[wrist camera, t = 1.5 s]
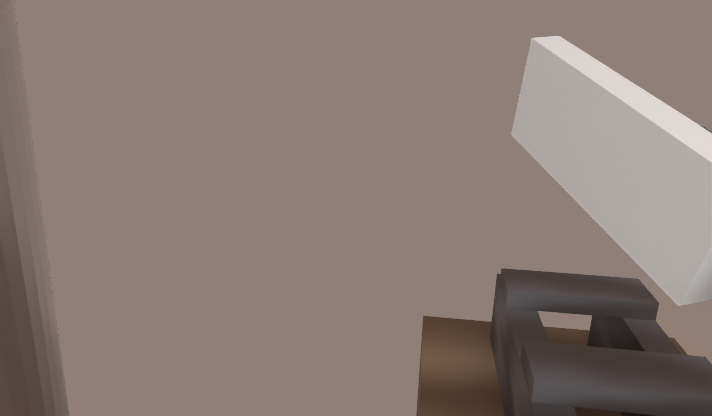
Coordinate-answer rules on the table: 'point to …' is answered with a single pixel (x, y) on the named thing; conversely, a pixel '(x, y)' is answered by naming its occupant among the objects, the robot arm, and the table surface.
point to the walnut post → (561, 355)
